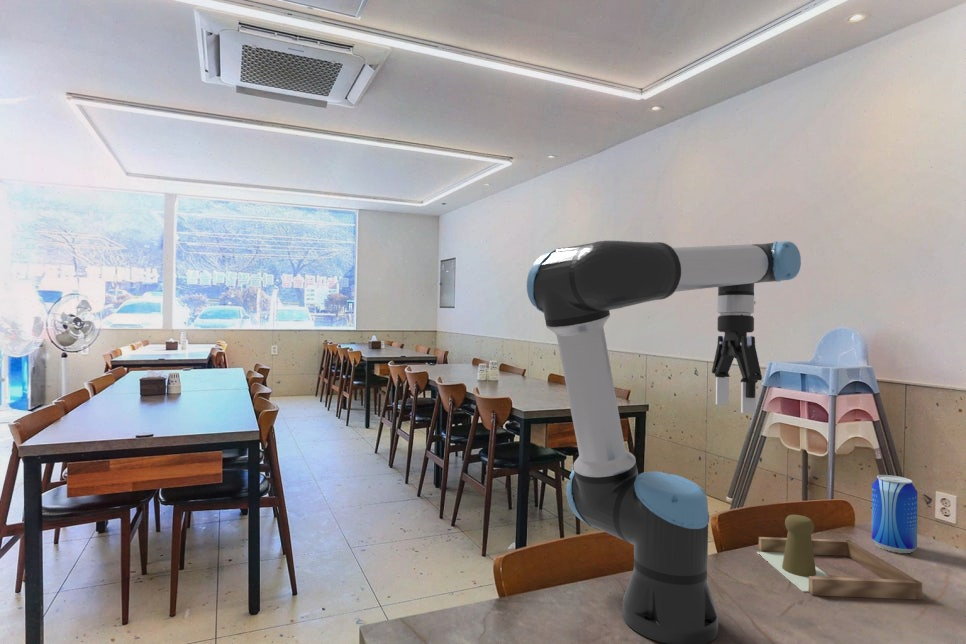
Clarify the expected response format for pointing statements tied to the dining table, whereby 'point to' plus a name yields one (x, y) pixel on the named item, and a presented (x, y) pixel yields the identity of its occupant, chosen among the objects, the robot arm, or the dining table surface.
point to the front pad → (777, 563)
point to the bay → (888, 587)
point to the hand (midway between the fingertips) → (734, 408)
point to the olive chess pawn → (799, 546)
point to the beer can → (894, 514)
